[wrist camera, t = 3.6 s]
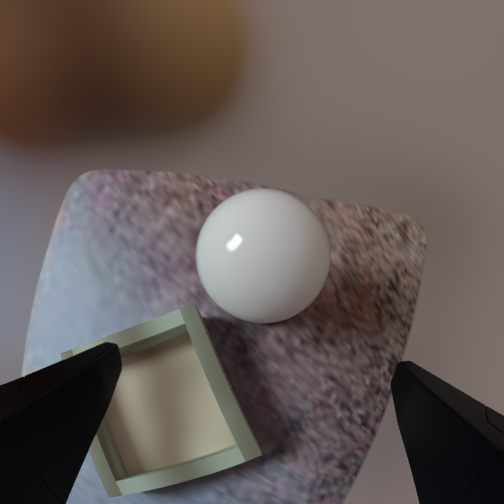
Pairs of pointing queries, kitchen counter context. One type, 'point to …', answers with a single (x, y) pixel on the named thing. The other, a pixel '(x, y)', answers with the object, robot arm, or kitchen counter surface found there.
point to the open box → (168, 408)
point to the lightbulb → (263, 255)
